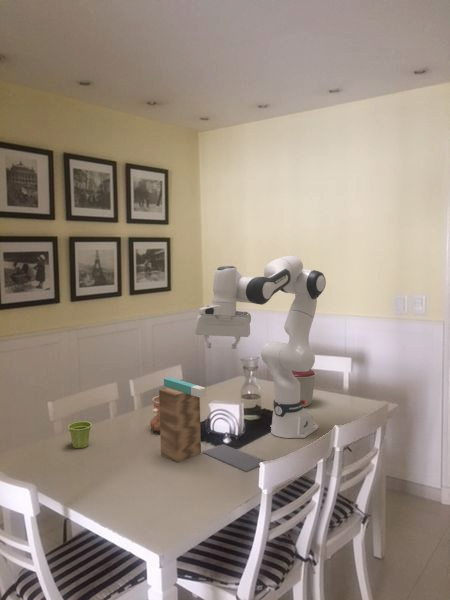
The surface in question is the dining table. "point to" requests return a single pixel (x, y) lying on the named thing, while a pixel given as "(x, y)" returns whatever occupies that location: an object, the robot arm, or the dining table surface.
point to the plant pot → (80, 433)
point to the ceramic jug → (156, 420)
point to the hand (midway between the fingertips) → (221, 348)
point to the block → (185, 387)
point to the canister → (306, 385)
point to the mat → (234, 457)
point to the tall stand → (179, 424)
